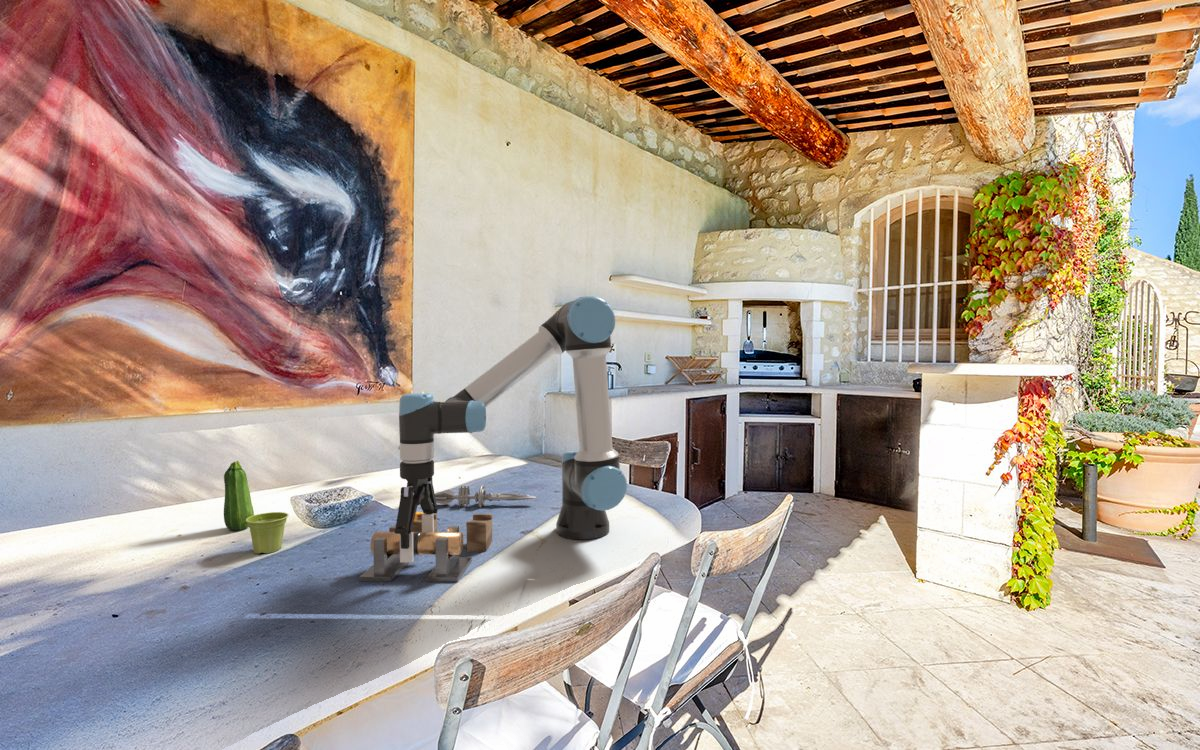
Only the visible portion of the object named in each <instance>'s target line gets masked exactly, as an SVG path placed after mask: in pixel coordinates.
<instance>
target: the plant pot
mask: <svg viewBox="0 0 1200 750" xmlns="http://www.w3.org/2000/svg"><path fill="white" fill-rule="evenodd" d="M288 518H289V513H288V512H285V511H284V512H283V511H271V512H270V511H269V512H263V513H257V514H254V515H253V516H251V517H248V518H247V519H246V522H247V523H248V526H249V527H248V528H249V531H250V532H249V533H250V536H251V544H252V549H253V553H255V554H261V553H264V554H270V553H275V552H277V551H279V550H280V549H282V546H283V540H284V531H285V525H286V523H287V519H288Z"/></svg>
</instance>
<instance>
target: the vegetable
mask: <svg viewBox="0 0 1200 750" xmlns="http://www.w3.org/2000/svg"><path fill="white" fill-rule="evenodd" d="M223 481H224V482H223V484H224V502H223V503H224V504H223V521H224V524H225V526H226V528H227V529H228V530H230V531H232V532H233V531H234V532H237V531H238V530H239V531H243V529H244V530H246V529H248V528H249V526H248V523H247V522H246V519H247V518H248V517H251V516H253V515H255V513H254V507H253V503H252V498H251V491H250V487H249V483H248V477H247V473H246V471H245V470H244V469H243V467H242V465H241V463H240V461H239V460H235V461H233V462H232V463H230V465H229V466H228V468H227V470H226V471H225V472H224V475H223Z"/></svg>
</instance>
